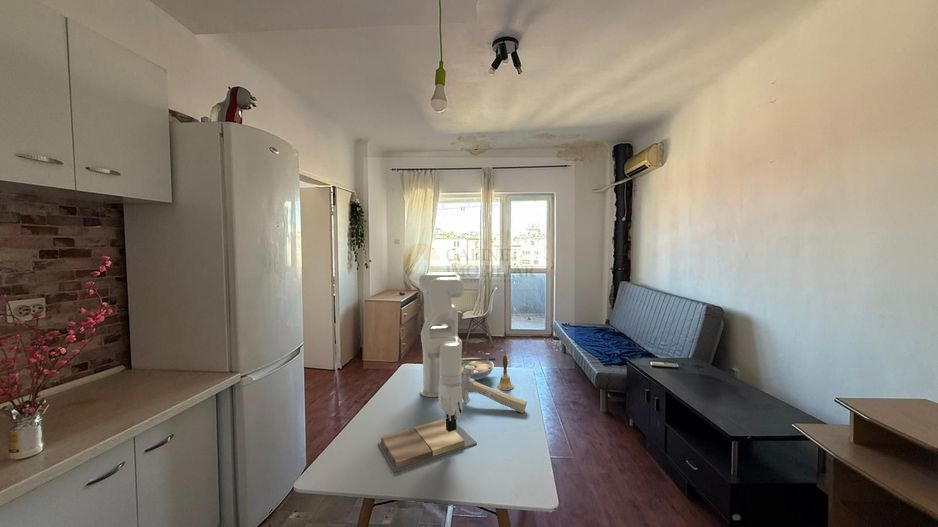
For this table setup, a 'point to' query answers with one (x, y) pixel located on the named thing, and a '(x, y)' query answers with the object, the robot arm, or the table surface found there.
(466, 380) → the hammer
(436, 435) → the oak plank
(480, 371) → the ramen bowl
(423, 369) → the robot arm
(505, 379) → the hand bell
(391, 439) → the floor section
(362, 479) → the table surface
